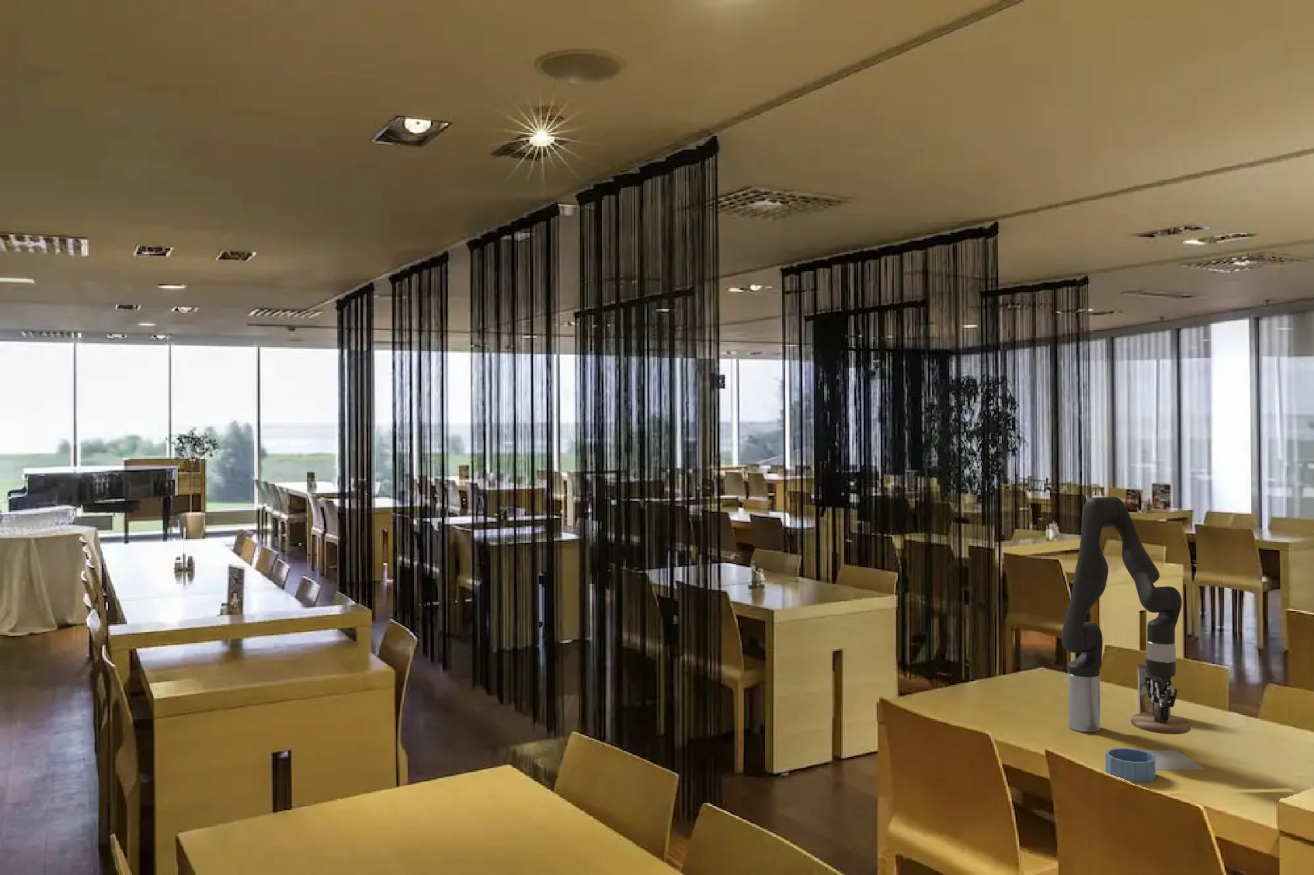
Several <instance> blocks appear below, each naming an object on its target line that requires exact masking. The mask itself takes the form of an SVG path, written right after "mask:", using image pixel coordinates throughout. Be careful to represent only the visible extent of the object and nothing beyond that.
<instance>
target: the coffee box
mask: <svg viewBox="0 0 1314 875" xmlns="http://www.w3.org/2000/svg"><path fill="white" fill-rule="evenodd" d="M1145 677H1150V674H1148V673H1147V672H1146V663H1137V692H1138V693H1137V698H1138V706H1137V707H1138V714H1141V713H1153V702H1152V701H1151V698H1149V697H1148V693H1147V687H1146V682H1145ZM1163 696H1165V695H1163ZM1163 702H1164V699H1163ZM1171 712H1172V711H1171V707H1169V715H1171ZM1171 716H1172V715H1171Z"/></svg>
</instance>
